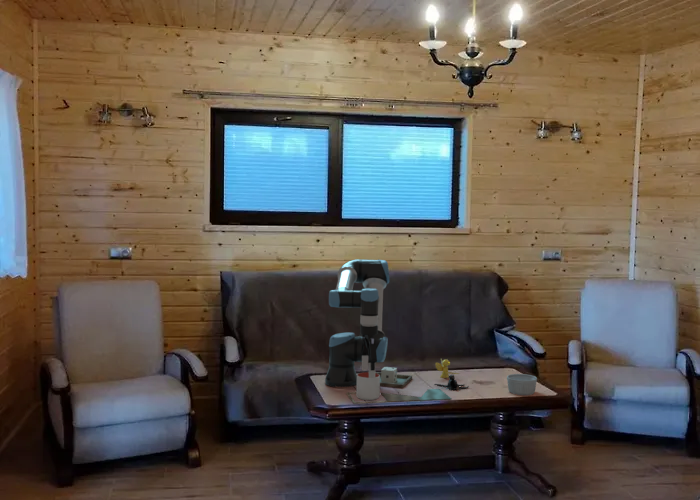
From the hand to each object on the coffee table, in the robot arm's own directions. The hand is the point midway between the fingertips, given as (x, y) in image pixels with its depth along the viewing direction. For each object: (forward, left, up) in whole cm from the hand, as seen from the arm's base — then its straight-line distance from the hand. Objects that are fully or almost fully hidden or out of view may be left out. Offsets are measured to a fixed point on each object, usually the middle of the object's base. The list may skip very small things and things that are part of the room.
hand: (368, 374), depth 307 cm
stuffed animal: (+30, +31, -11) cm, 45 cm away
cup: (0, 0, -11) cm, 11 cm away
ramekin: (+61, +34, -11) cm, 71 cm away
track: (+12, +7, -11) cm, 18 cm away
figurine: (+26, +48, -11) cm, 56 cm away
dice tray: (+1, +28, -11) cm, 30 cm away
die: (+1, +28, -10) cm, 30 cm away
